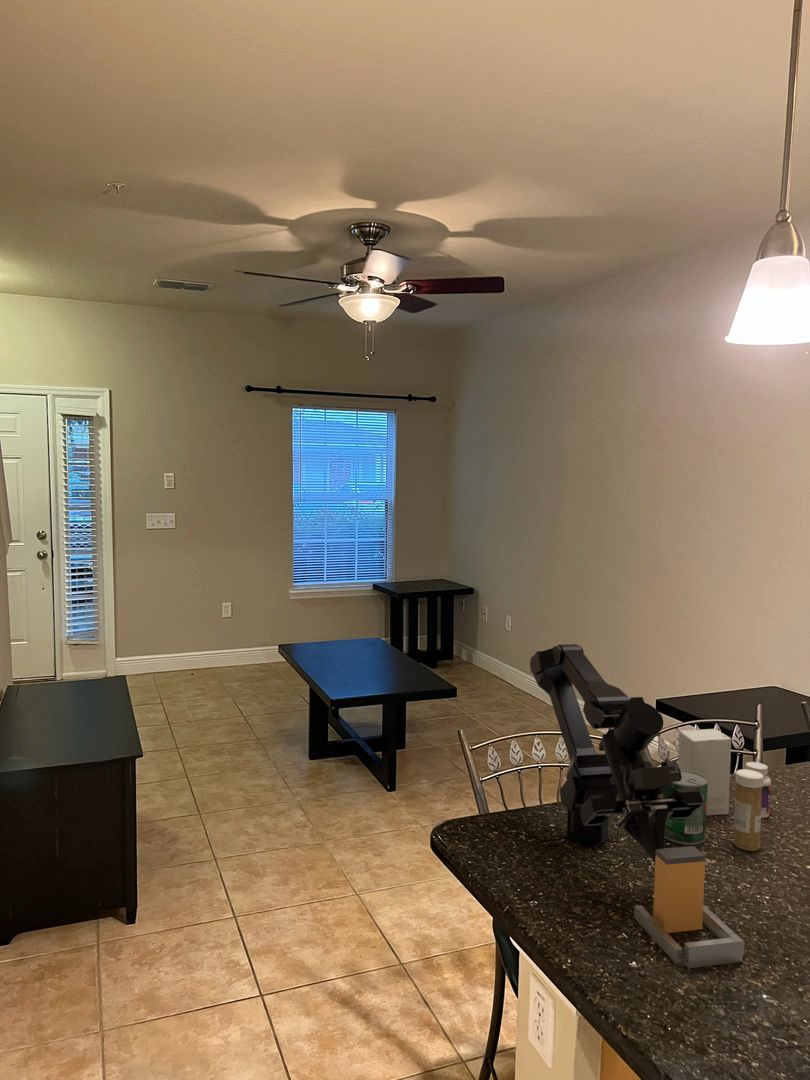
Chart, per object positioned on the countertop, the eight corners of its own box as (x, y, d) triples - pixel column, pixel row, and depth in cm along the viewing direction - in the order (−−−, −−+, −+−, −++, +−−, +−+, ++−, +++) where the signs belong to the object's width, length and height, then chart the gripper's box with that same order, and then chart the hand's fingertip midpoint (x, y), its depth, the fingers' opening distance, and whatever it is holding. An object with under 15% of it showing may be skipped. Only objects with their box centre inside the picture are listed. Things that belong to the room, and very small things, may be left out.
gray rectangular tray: (620, 909, 115) (621, 884, 115) (681, 902, 118) (682, 879, 117) (680, 976, 100) (681, 948, 99) (749, 967, 102) (750, 940, 101)
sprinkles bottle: (765, 851, 135) (769, 777, 134) (741, 852, 134) (745, 778, 134) (750, 839, 140) (753, 767, 139) (727, 840, 139) (730, 768, 138)
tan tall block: (652, 921, 110) (655, 849, 110) (690, 917, 112) (693, 846, 111) (663, 933, 107) (667, 859, 107) (702, 929, 109) (705, 855, 108)
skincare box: (713, 802, 156) (716, 727, 155) (730, 816, 150) (734, 738, 149) (674, 803, 155) (677, 728, 154) (690, 817, 149) (693, 739, 148)
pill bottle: (774, 819, 149) (776, 770, 148) (746, 818, 149) (748, 769, 148) (761, 807, 154) (764, 760, 153) (734, 807, 154) (737, 760, 153)
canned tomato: (651, 833, 142) (653, 775, 141) (675, 822, 146) (678, 766, 146) (689, 849, 135) (692, 788, 135) (714, 837, 140) (716, 779, 139)
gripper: (590, 744, 116) (623, 848, 106) (700, 738, 120) (742, 837, 110) (567, 775, 124) (595, 875, 114) (671, 769, 128) (707, 864, 118)
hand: (660, 862), depth 114 cm, fingers closed
